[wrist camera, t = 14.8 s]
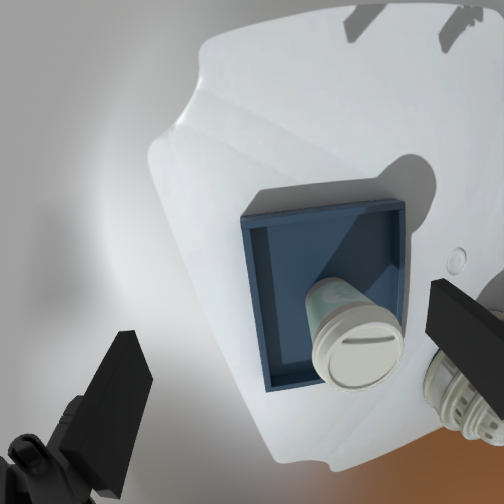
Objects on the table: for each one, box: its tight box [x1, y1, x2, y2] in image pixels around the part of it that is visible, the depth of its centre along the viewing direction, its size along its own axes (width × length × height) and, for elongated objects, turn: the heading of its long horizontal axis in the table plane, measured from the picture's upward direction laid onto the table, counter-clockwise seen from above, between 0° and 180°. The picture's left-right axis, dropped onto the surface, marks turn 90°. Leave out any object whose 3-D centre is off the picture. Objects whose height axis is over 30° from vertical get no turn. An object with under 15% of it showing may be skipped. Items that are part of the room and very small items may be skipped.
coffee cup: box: [305, 277, 404, 392], centre depth 30 cm, size 9×8×12 cm
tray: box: [240, 198, 406, 392], centre depth 35 cm, size 22×18×3 cm
